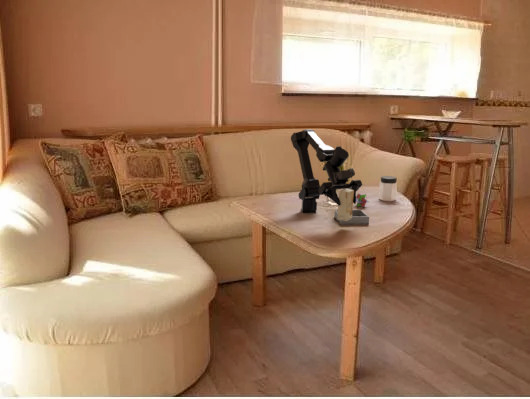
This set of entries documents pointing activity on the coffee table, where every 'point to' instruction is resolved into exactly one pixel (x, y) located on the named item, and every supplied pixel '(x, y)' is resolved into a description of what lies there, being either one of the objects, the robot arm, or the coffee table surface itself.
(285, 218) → the coffee table surface
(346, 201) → the skincare box
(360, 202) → the geometric puzzle
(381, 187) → the jar
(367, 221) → the tray
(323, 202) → the coffee table surface
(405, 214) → the coffee table surface
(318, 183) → the robot arm
